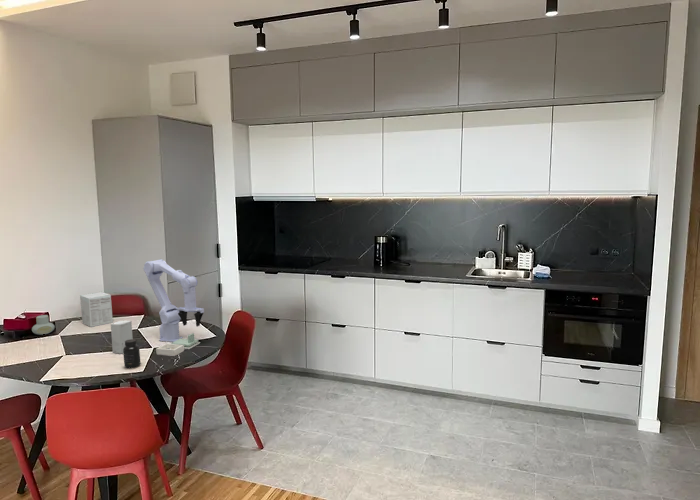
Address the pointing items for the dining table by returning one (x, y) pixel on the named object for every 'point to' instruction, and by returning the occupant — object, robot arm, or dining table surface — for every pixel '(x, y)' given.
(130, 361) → the supplement bottle
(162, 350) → the tub
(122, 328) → the skincare box
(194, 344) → the mat
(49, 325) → the air freshener
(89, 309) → the supplement box
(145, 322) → the dining table surface
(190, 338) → the lid
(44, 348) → the dining table surface
